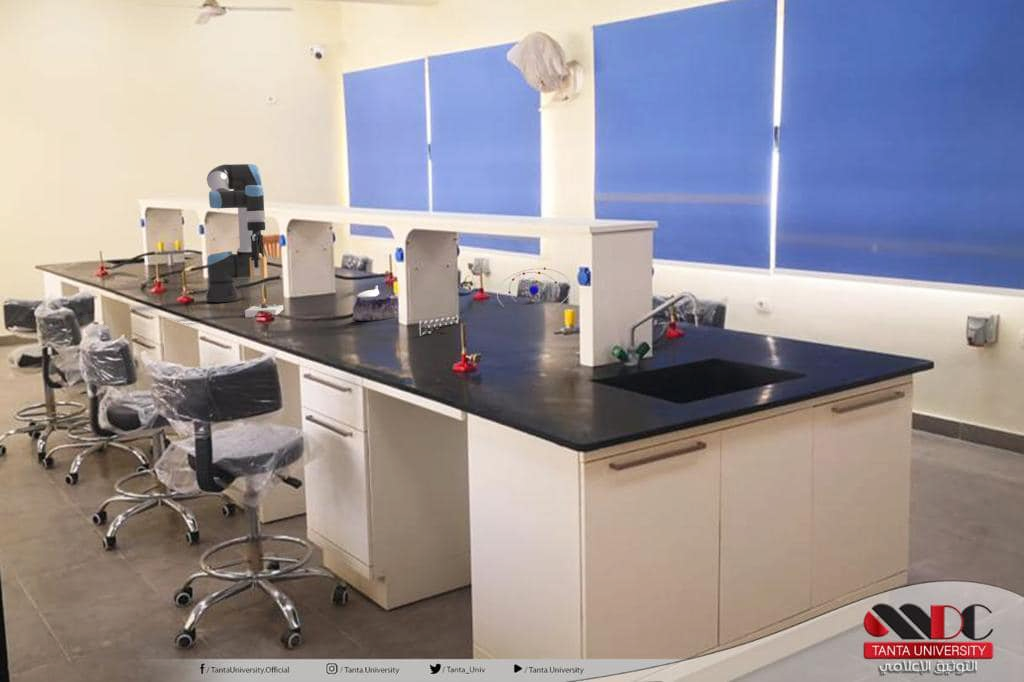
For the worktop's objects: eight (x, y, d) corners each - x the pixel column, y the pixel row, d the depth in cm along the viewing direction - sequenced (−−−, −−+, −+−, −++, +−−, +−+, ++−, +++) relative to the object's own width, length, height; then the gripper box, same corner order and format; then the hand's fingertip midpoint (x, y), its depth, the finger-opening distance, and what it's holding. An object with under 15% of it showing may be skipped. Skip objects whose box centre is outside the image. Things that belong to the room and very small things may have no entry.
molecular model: (433, 339, 366) (433, 322, 366) (415, 337, 371) (414, 321, 371) (474, 331, 387) (473, 315, 386) (456, 330, 392) (455, 314, 391)
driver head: (386, 283, 481) (368, 277, 471) (386, 304, 478) (368, 299, 469) (370, 288, 487) (352, 282, 477) (370, 309, 484) (352, 303, 474)
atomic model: (527, 340, 440) (584, 303, 436) (514, 330, 420) (573, 291, 416) (497, 289, 449) (553, 252, 445) (482, 276, 430) (540, 238, 425)
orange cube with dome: (253, 277, 436) (252, 252, 434) (267, 277, 436) (266, 252, 434) (250, 278, 430) (249, 253, 428) (264, 278, 430) (263, 252, 428)
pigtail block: (254, 312, 444) (253, 296, 443) (283, 311, 444) (282, 296, 443) (245, 317, 426) (244, 301, 425) (276, 316, 427) (275, 300, 426)
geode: (363, 324, 397) (362, 299, 396) (346, 321, 405) (345, 297, 404) (403, 319, 411) (403, 294, 410) (386, 316, 419) (386, 293, 418)
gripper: (252, 221, 439) (255, 273, 442) (242, 221, 420) (245, 276, 423) (269, 220, 439) (272, 273, 442) (259, 221, 420) (263, 276, 423)
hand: (259, 274), depth 433 cm, fingers closed on orange cube with dome, 6 cm apart
